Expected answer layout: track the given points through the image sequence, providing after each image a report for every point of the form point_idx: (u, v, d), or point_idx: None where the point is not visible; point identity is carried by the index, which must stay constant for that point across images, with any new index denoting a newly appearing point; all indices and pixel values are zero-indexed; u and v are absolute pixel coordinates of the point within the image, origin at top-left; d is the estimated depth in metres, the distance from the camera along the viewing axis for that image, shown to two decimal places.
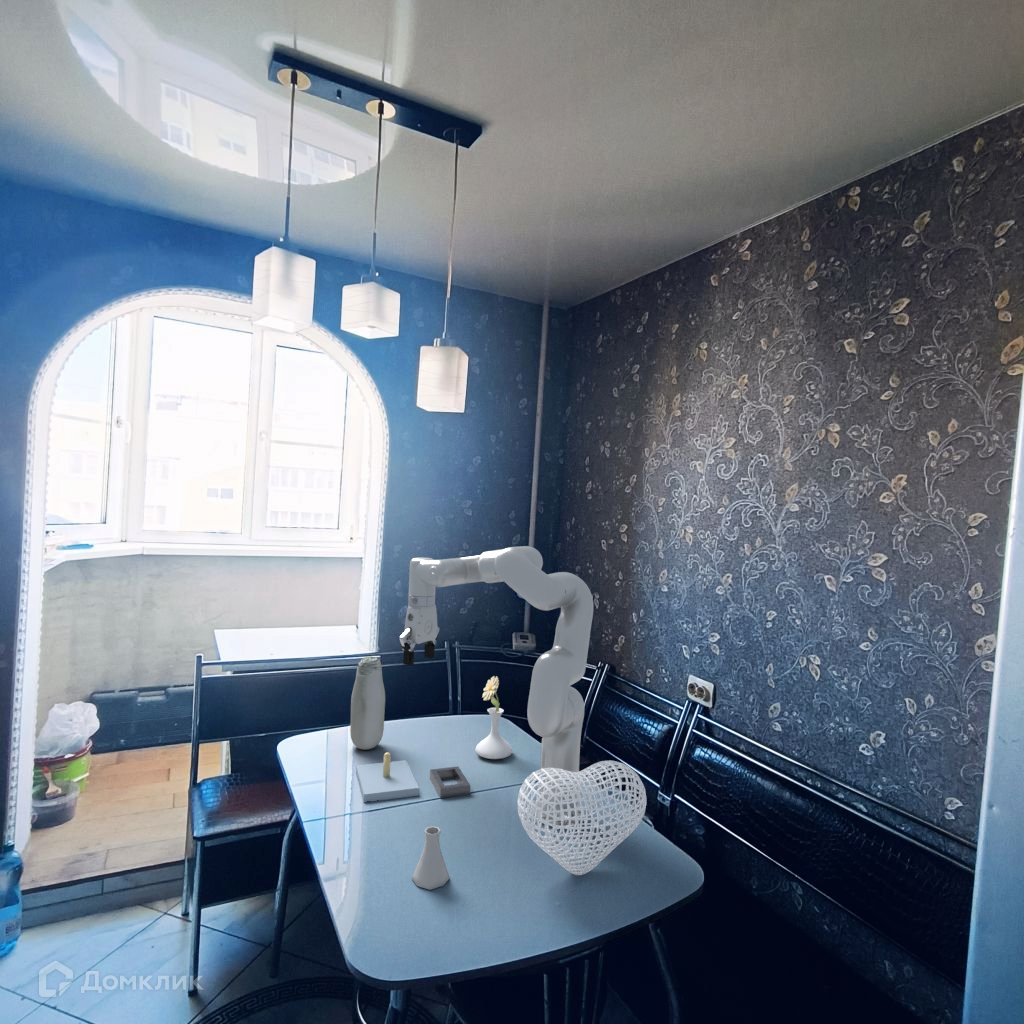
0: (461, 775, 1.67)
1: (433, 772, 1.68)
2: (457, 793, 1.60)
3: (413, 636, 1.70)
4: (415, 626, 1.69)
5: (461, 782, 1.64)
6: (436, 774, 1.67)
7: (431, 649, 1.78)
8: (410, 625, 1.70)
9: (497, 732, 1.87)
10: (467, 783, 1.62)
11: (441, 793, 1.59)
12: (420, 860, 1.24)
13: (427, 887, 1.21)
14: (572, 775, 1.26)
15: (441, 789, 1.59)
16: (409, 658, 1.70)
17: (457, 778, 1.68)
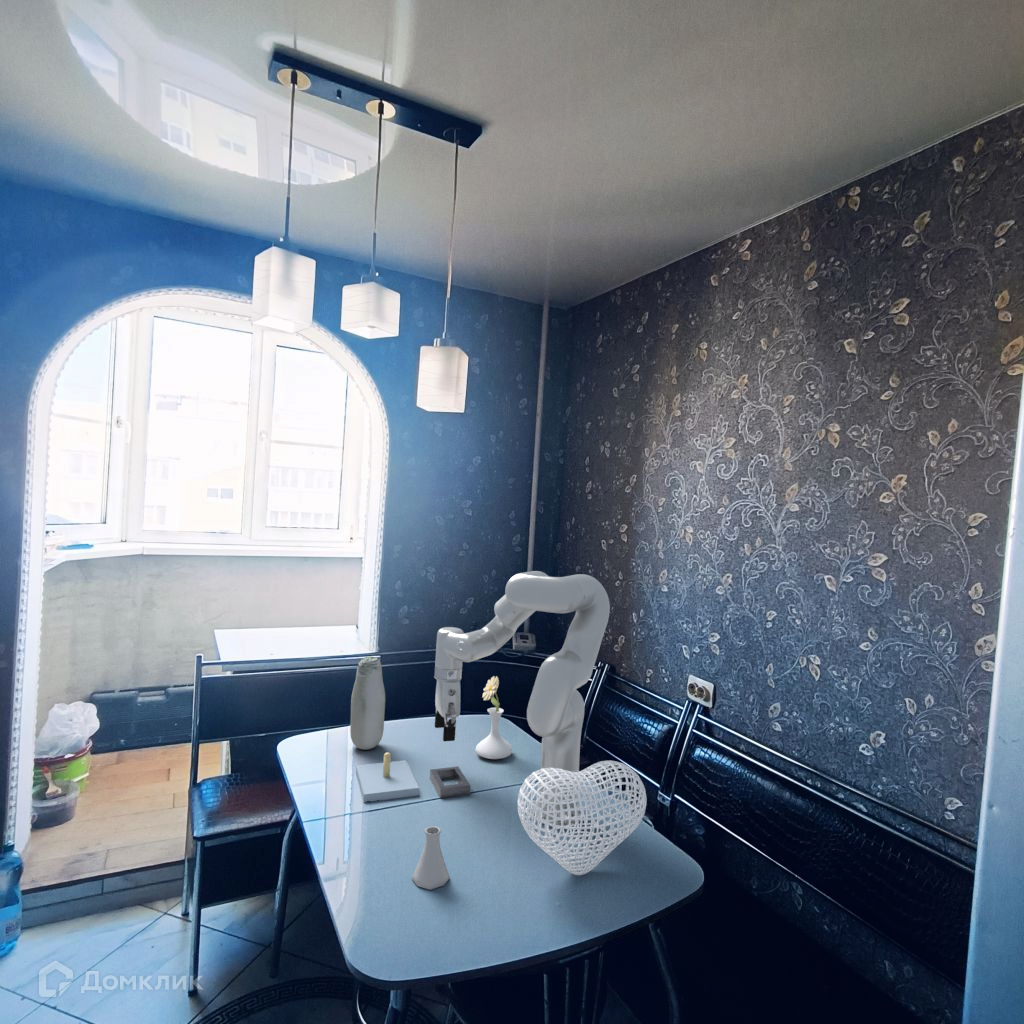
0: (461, 775, 1.67)
1: (433, 772, 1.68)
2: (457, 793, 1.60)
3: (456, 710, 1.67)
4: (458, 700, 1.67)
5: (461, 782, 1.64)
6: (436, 774, 1.67)
7: None
8: (452, 700, 1.66)
9: (497, 732, 1.87)
10: (467, 783, 1.62)
11: (441, 793, 1.59)
12: (420, 860, 1.24)
13: (427, 887, 1.21)
14: (572, 775, 1.26)
15: (441, 789, 1.59)
16: (452, 733, 1.66)
17: (457, 778, 1.68)
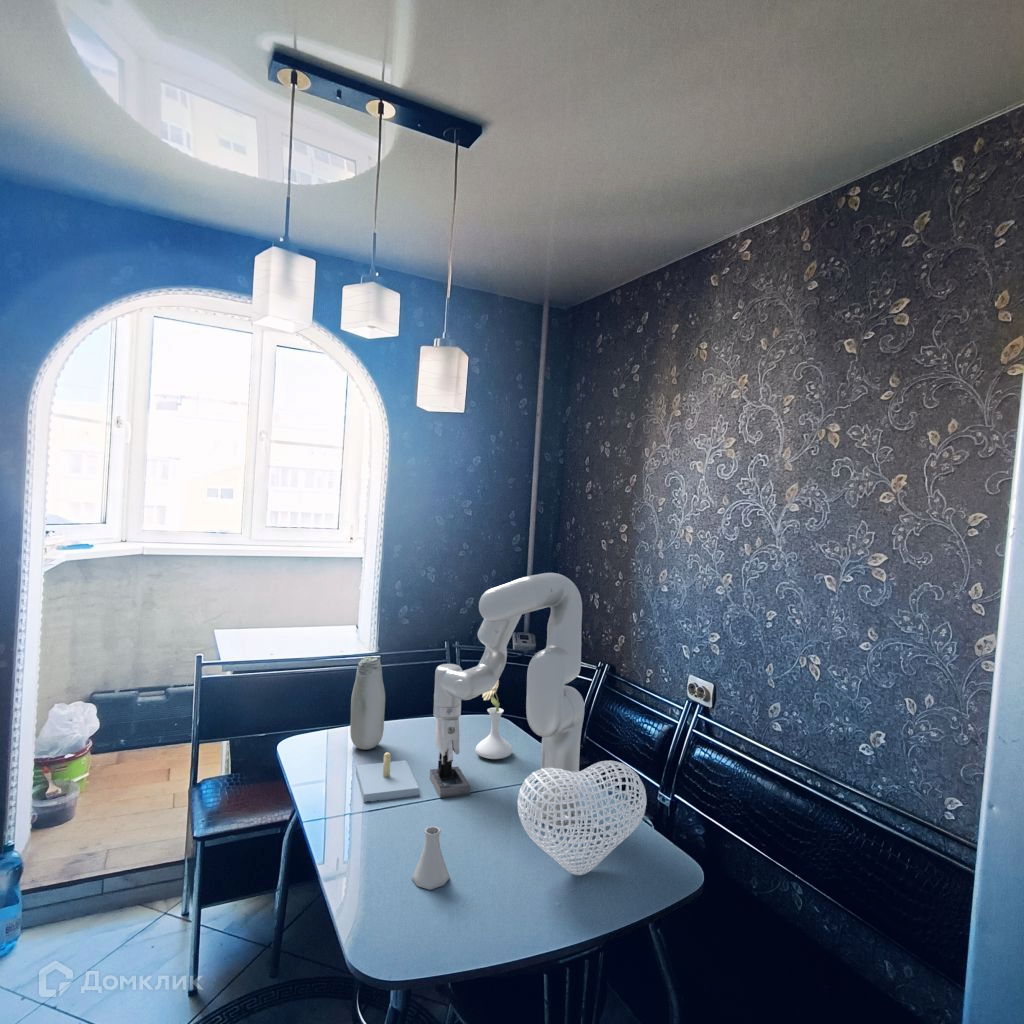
0: (461, 775, 1.67)
1: (433, 772, 1.68)
2: (457, 793, 1.60)
3: None
4: (457, 738, 1.67)
5: (461, 782, 1.64)
6: (436, 774, 1.67)
7: None
8: (451, 738, 1.66)
9: (497, 732, 1.87)
10: (467, 783, 1.62)
11: (441, 793, 1.59)
12: (420, 860, 1.24)
13: (427, 887, 1.21)
14: (572, 775, 1.26)
15: (441, 789, 1.59)
16: (449, 770, 1.69)
17: (457, 778, 1.68)
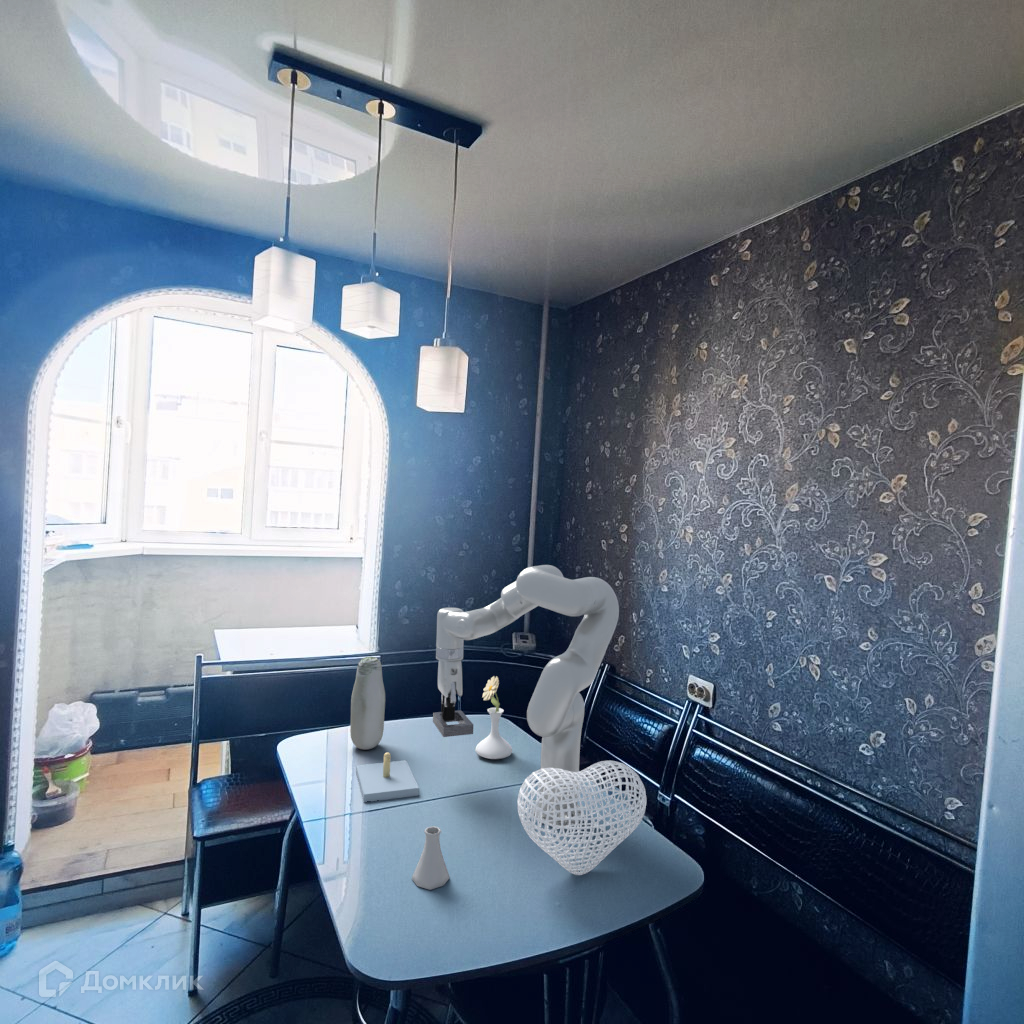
0: (464, 717, 1.67)
1: (436, 714, 1.68)
2: (460, 732, 1.60)
3: None
4: (460, 679, 1.67)
5: (464, 723, 1.64)
6: (439, 716, 1.67)
7: None
8: (454, 679, 1.66)
9: (497, 732, 1.87)
10: (470, 723, 1.62)
11: (444, 732, 1.59)
12: (420, 860, 1.24)
13: (427, 887, 1.21)
14: (572, 775, 1.26)
15: (444, 728, 1.59)
16: None
17: (460, 720, 1.68)
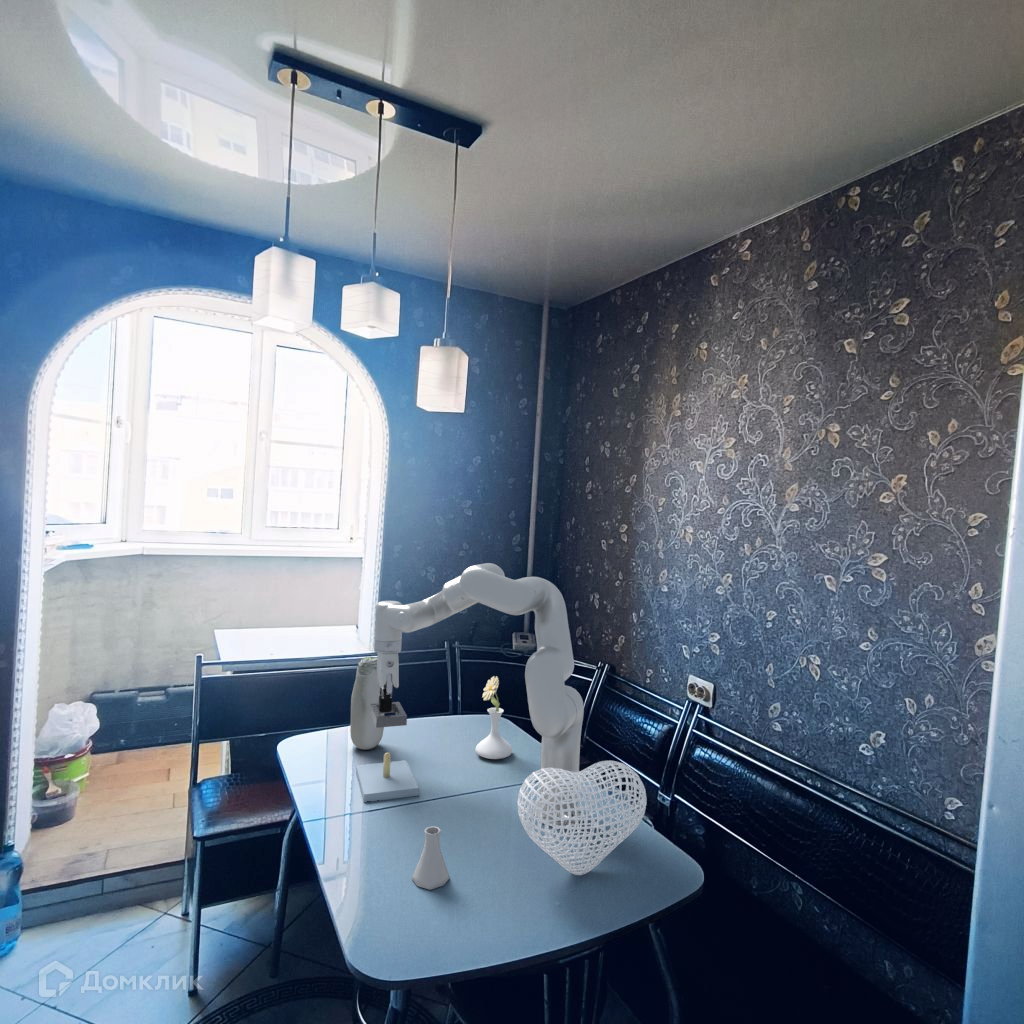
0: (400, 708, 1.69)
1: (373, 706, 1.70)
2: (393, 723, 1.62)
3: None
4: (396, 671, 1.69)
5: (399, 714, 1.66)
6: (375, 707, 1.69)
7: None
8: (390, 671, 1.68)
9: (497, 732, 1.87)
10: (404, 714, 1.64)
11: (377, 723, 1.61)
12: (420, 860, 1.24)
13: (427, 887, 1.21)
14: (572, 775, 1.26)
15: (377, 719, 1.61)
16: (389, 705, 1.72)
17: (396, 711, 1.70)
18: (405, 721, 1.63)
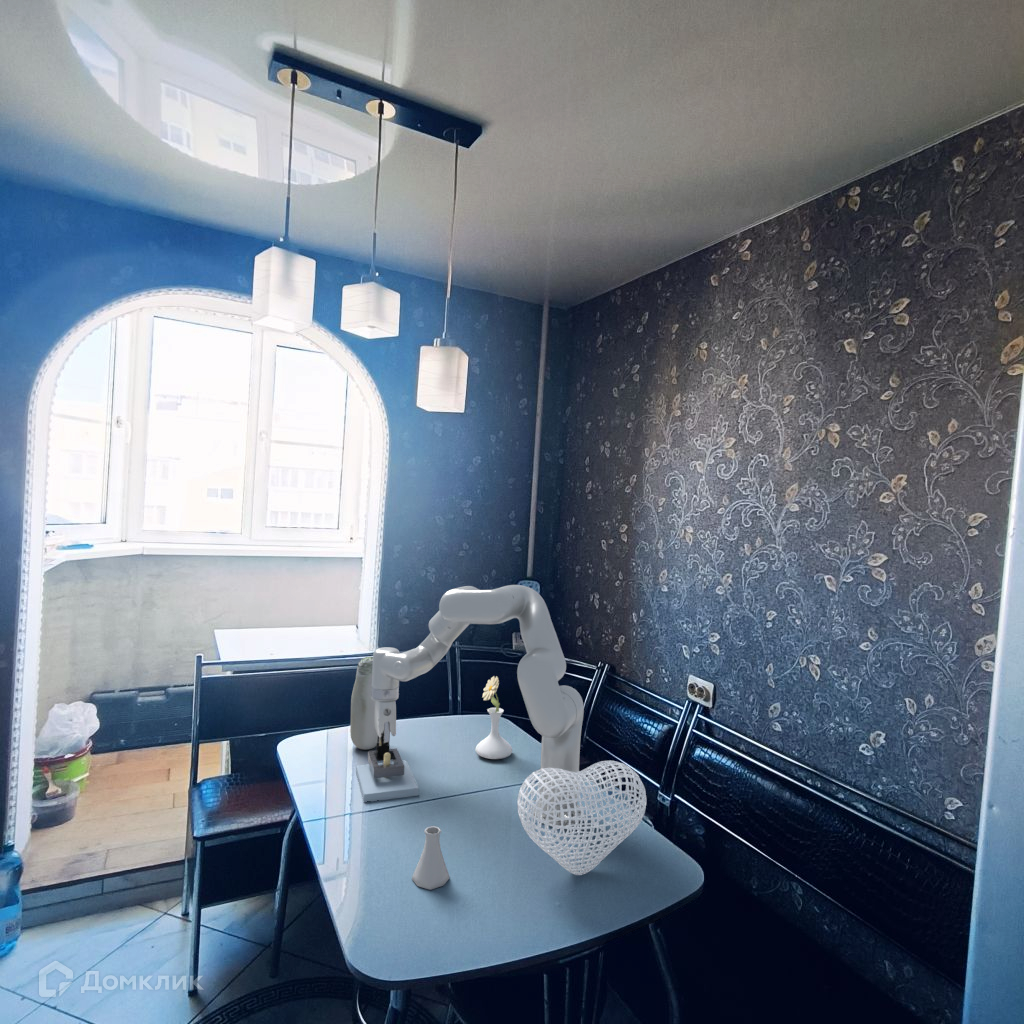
0: (397, 756, 1.69)
1: (370, 753, 1.70)
2: (391, 773, 1.62)
3: None
4: (393, 719, 1.69)
5: (396, 763, 1.66)
6: (373, 755, 1.69)
7: None
8: (388, 720, 1.68)
9: (497, 732, 1.87)
10: (402, 764, 1.64)
11: (375, 773, 1.61)
12: (420, 860, 1.24)
13: (427, 887, 1.21)
14: (572, 775, 1.26)
15: (375, 769, 1.61)
16: None
17: (394, 759, 1.70)
18: (403, 771, 1.63)
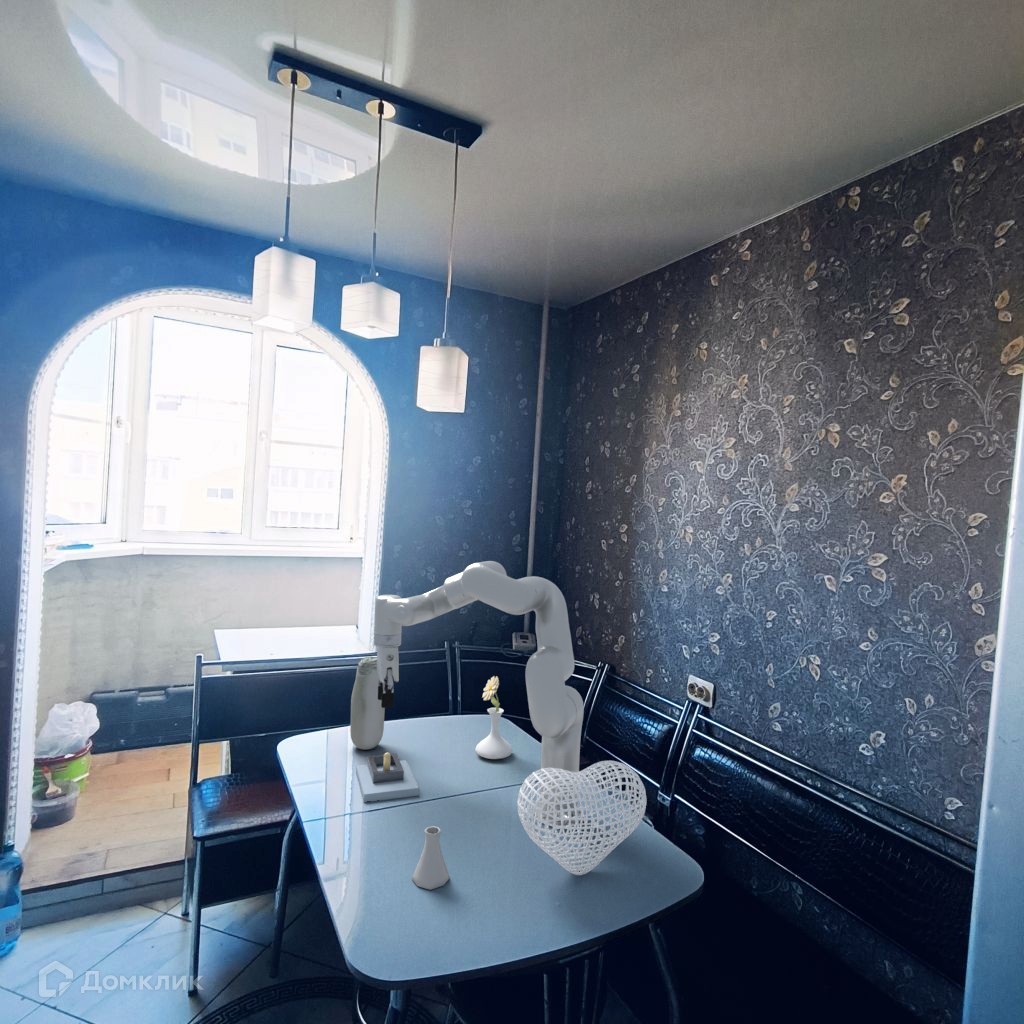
0: (397, 761, 1.69)
1: (370, 758, 1.71)
2: (390, 778, 1.63)
3: (394, 678, 1.69)
4: (396, 665, 1.69)
5: (396, 768, 1.67)
6: (372, 760, 1.69)
7: None
8: (390, 665, 1.68)
9: (497, 732, 1.87)
10: (401, 769, 1.65)
11: (374, 779, 1.61)
12: (420, 860, 1.24)
13: (427, 887, 1.21)
14: (572, 775, 1.26)
15: (374, 774, 1.61)
16: (390, 700, 1.69)
17: (393, 764, 1.70)
18: (402, 776, 1.64)
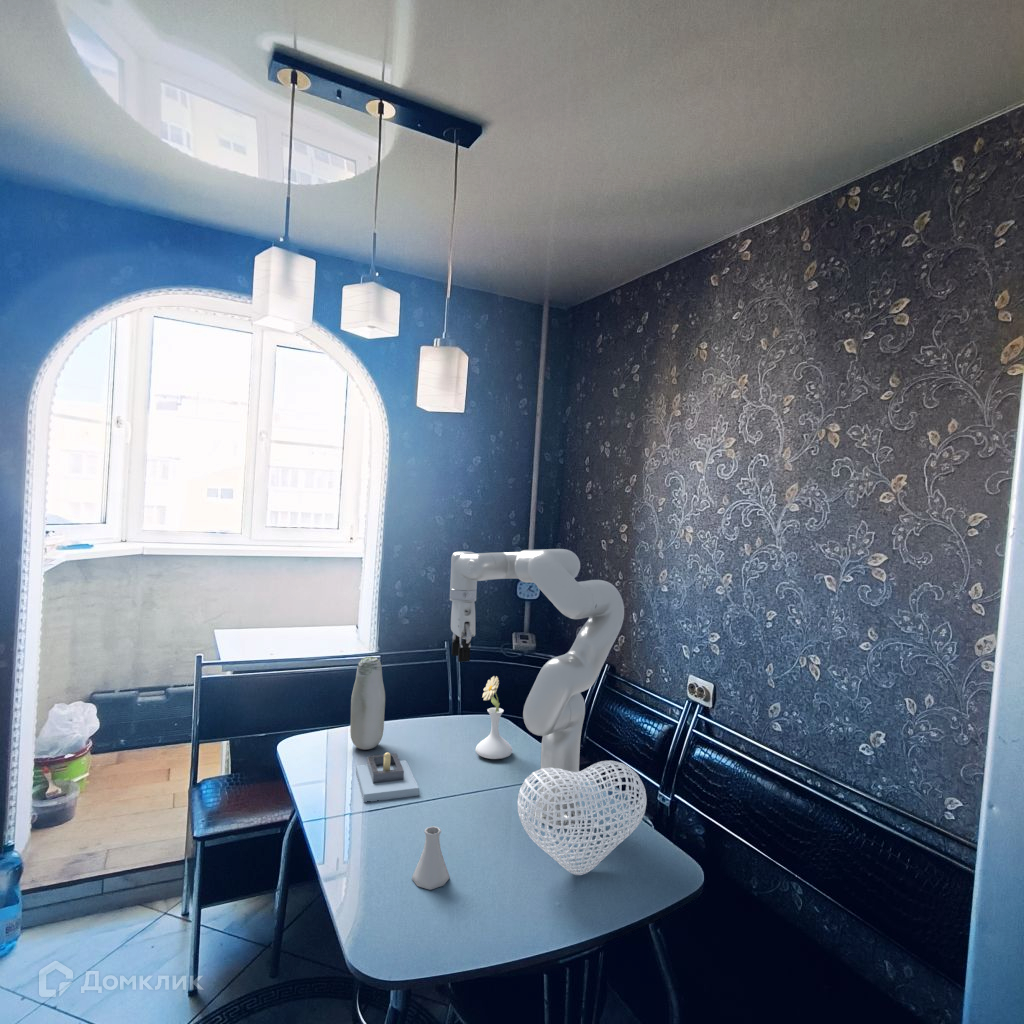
0: (397, 761, 1.69)
1: (370, 758, 1.71)
2: (390, 778, 1.63)
3: (471, 633, 1.70)
4: (473, 620, 1.70)
5: (396, 768, 1.67)
6: (372, 760, 1.69)
7: None
8: (468, 619, 1.70)
9: (497, 732, 1.87)
10: (401, 769, 1.65)
11: (374, 779, 1.61)
12: (420, 860, 1.24)
13: (427, 887, 1.21)
14: (572, 775, 1.26)
15: (374, 774, 1.61)
16: (467, 654, 1.71)
17: (393, 764, 1.70)
18: (402, 776, 1.64)
